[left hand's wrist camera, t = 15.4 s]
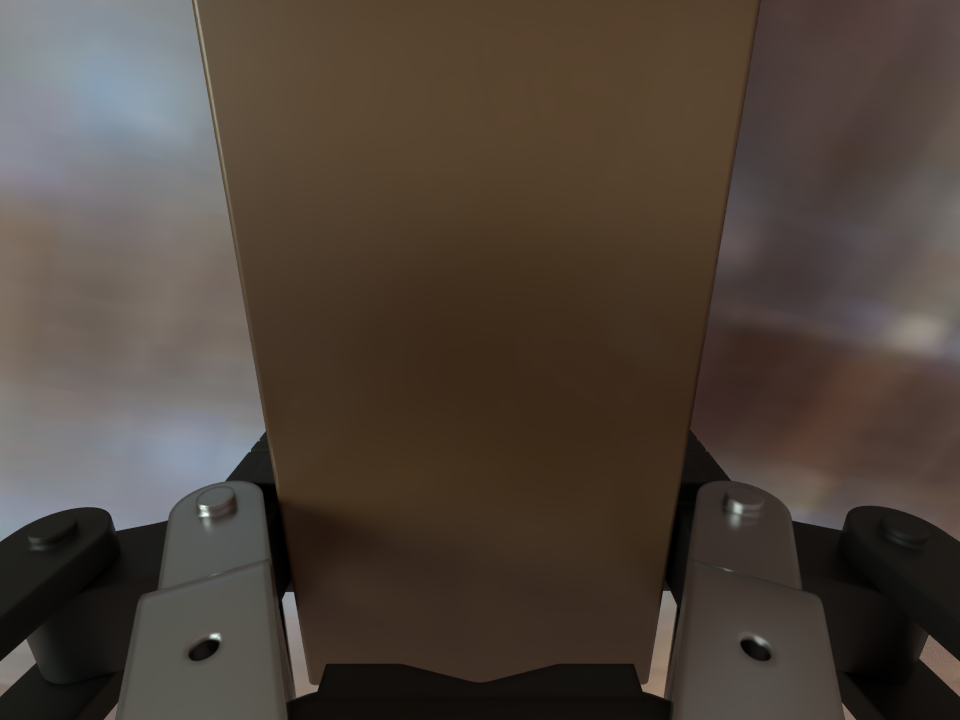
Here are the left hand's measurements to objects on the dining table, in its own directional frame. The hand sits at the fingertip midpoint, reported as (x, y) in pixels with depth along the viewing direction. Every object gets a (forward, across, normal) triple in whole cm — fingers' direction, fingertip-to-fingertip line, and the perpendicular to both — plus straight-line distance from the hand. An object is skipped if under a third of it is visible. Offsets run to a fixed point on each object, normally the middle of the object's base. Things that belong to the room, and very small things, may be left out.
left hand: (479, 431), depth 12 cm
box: (+6, 0, +8) cm, 10 cm away
